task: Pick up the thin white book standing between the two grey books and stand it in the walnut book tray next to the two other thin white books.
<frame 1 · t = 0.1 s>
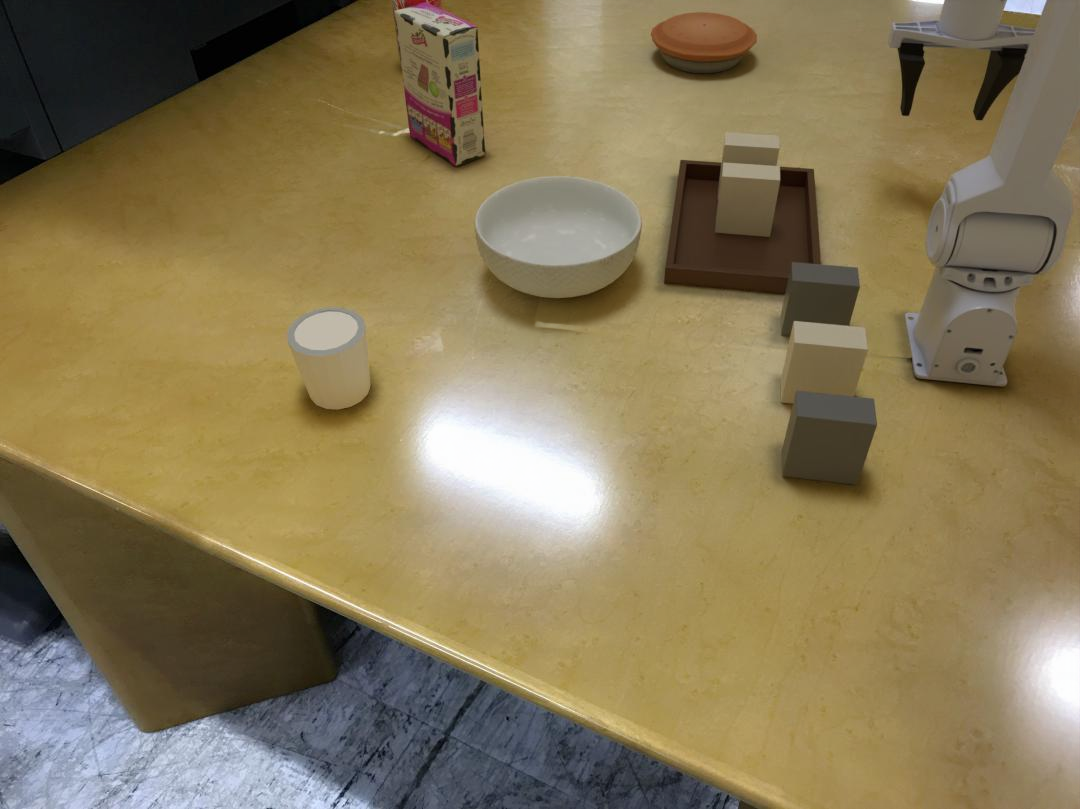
hand: (940, 114, 98), 10 cm above the table, tool pointing down, fingers open, 7 cm apart
grey book 1: (818, 467, 75), on the table
white book a: (742, 227, 100), point 1 cm above the table, touching book tray
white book: (814, 395, 81), on the table
white book b: (743, 195, 105), point 1 cm above the table, touching book tray
cereal bowl: (558, 275, 96), on the table
grey book 2: (811, 332, 87), on the table
shot glass: (340, 390, 83), on the table
book tray: (741, 234, 100), on the table
soda can: (423, 67, 135), on the table
candy bar box: (447, 147, 117), on the table
pie: (700, 59, 135), on the table
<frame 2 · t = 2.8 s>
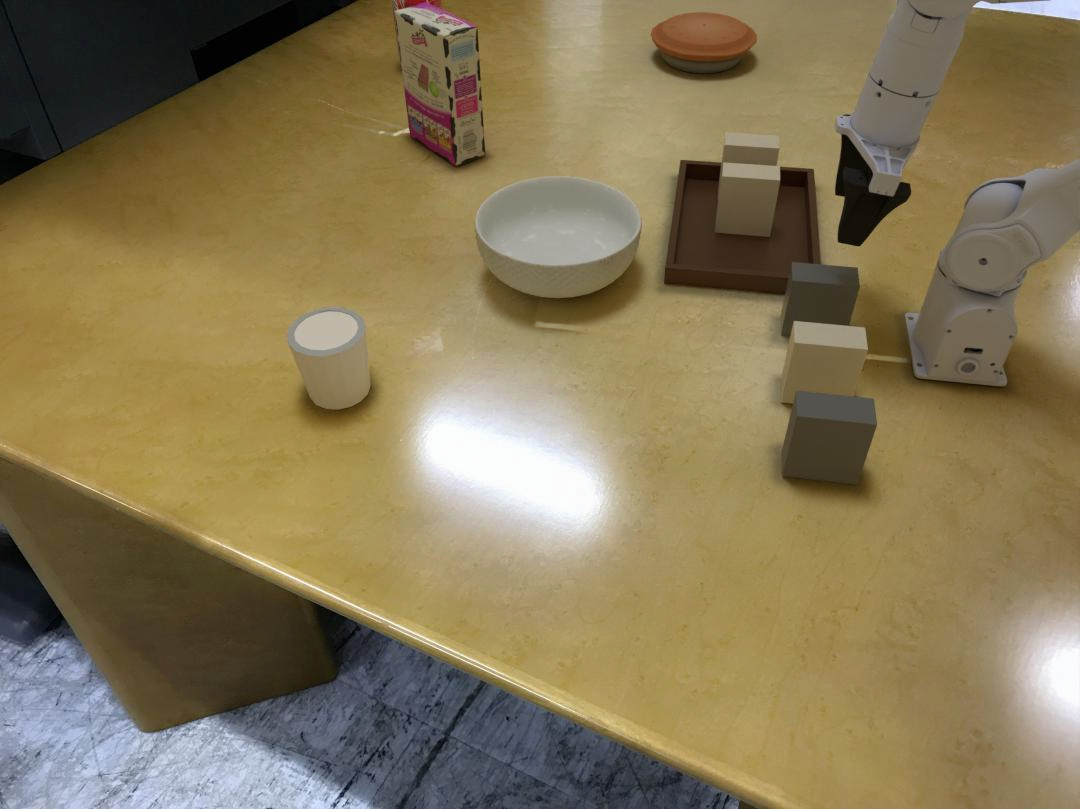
hand: (847, 218, 83), 10 cm above the table, tool pointing down, fingers open, 7 cm apart
nothing on the table moved.
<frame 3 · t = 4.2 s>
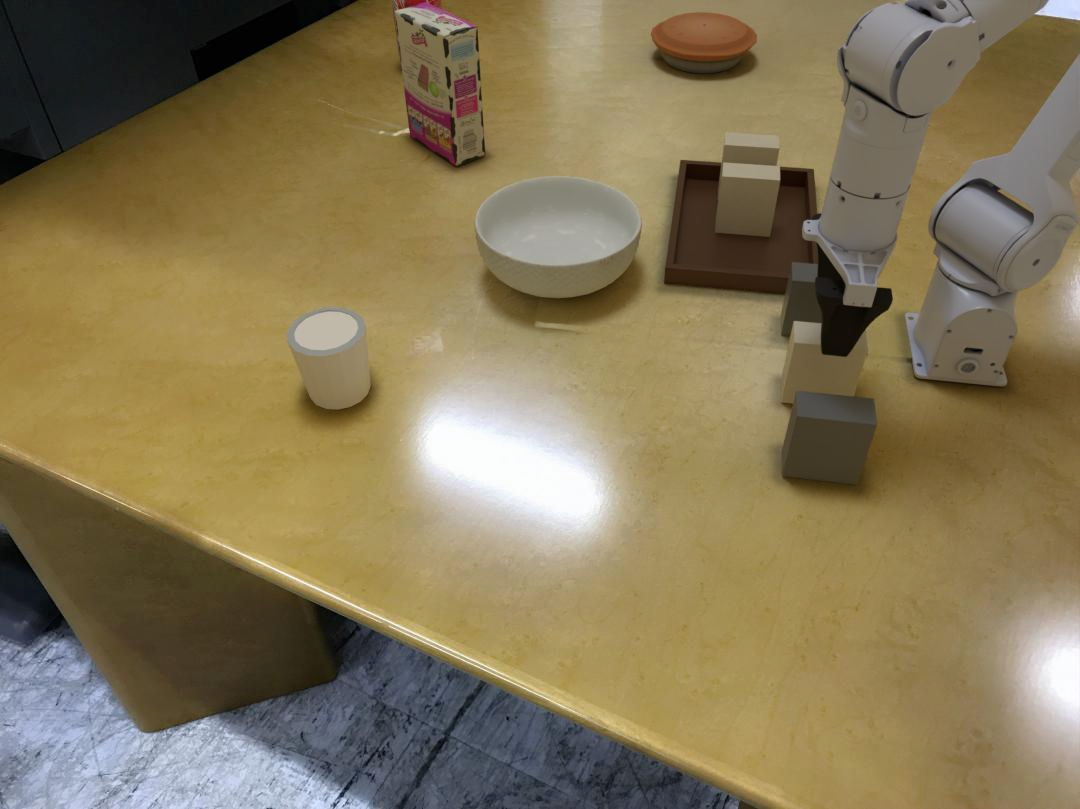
hand: (832, 324, 76), 8 cm above the table, tool pointing down, fingers open, 7 cm apart
nothing on the table moved.
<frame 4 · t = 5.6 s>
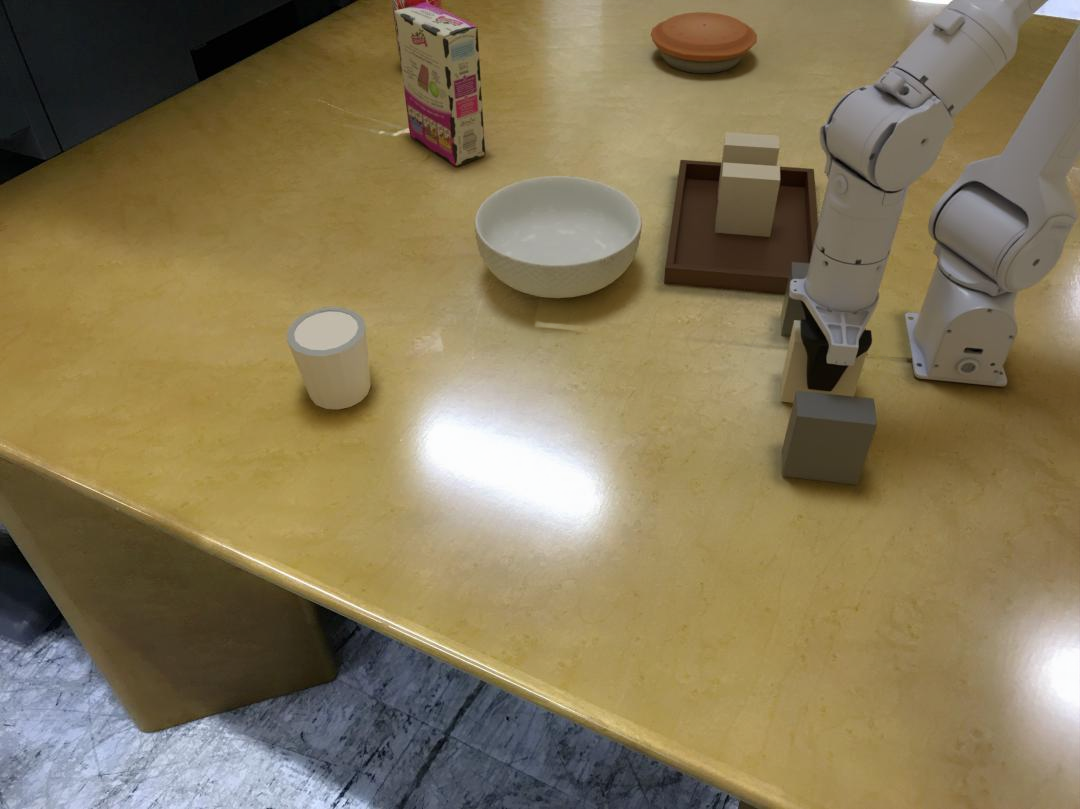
hand: (818, 374, 79), 2 cm above the table, tool pointing down, fingers closed on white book, 3 cm apart
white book: (814, 394, 81), on the table, touching gripper
everything else where it was.
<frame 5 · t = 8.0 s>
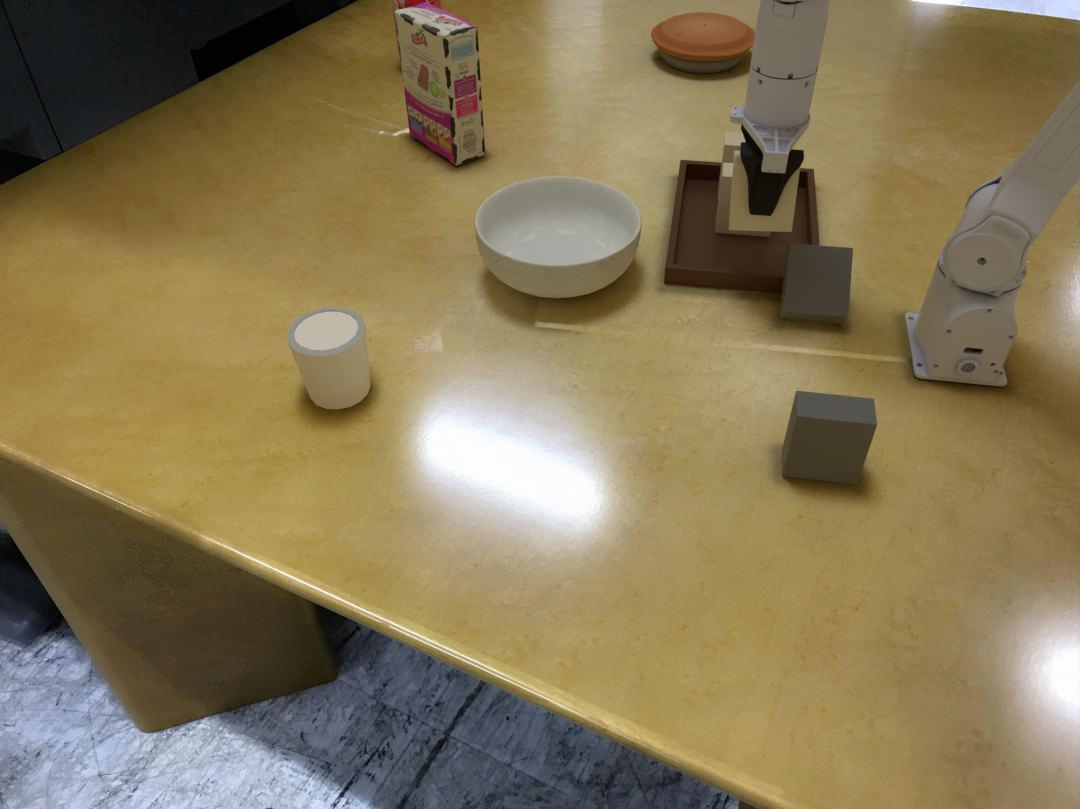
hand: (760, 203, 87), 9 cm above the table, tool pointing down, fingers closed on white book, 3 cm apart
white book: (760, 222, 89), point 7 cm above the table, touching gripper
grey book 2: (813, 318, 87), point 1 cm above the table, tilted 55°, touching book tray
everything else where it was.
when the fingers open (3 cm above the table, at t = 10.1 s): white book stays where it is, resting on book tray.
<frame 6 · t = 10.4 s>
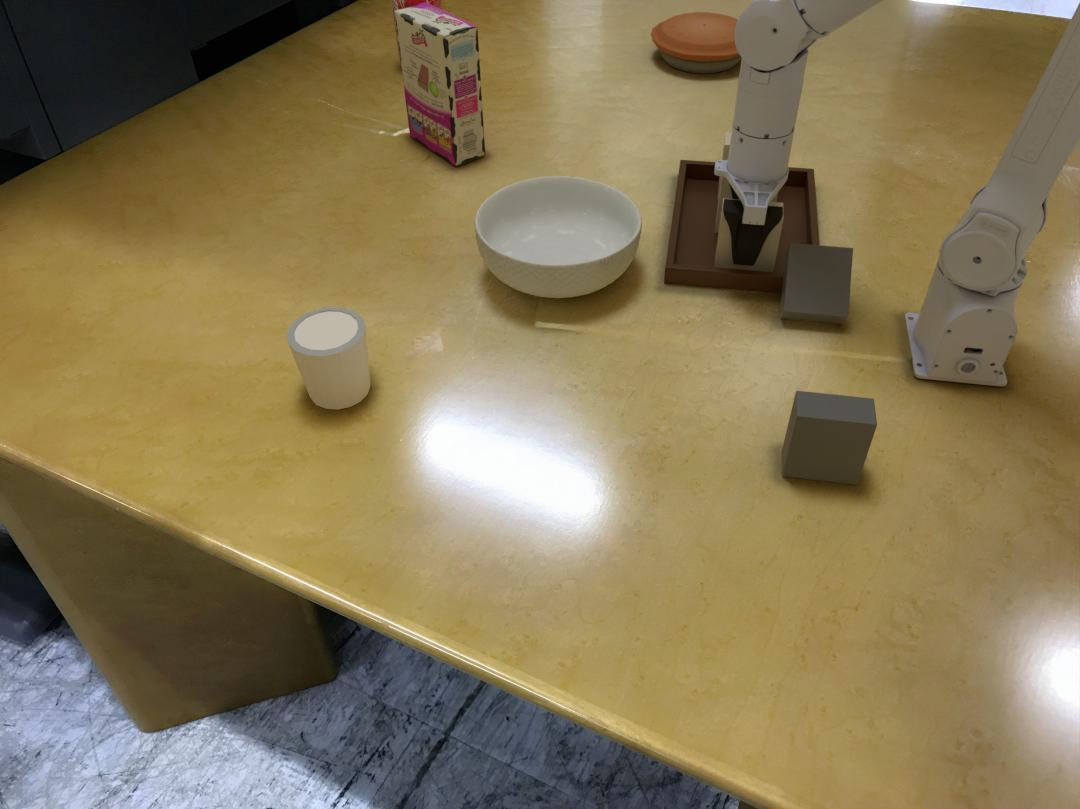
hand: (744, 247, 93), 3 cm above the table, tool pointing down, fingers open, 5 cm apart
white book: (743, 266, 95), point 1 cm above the table, touching book tray
everything else where it was.
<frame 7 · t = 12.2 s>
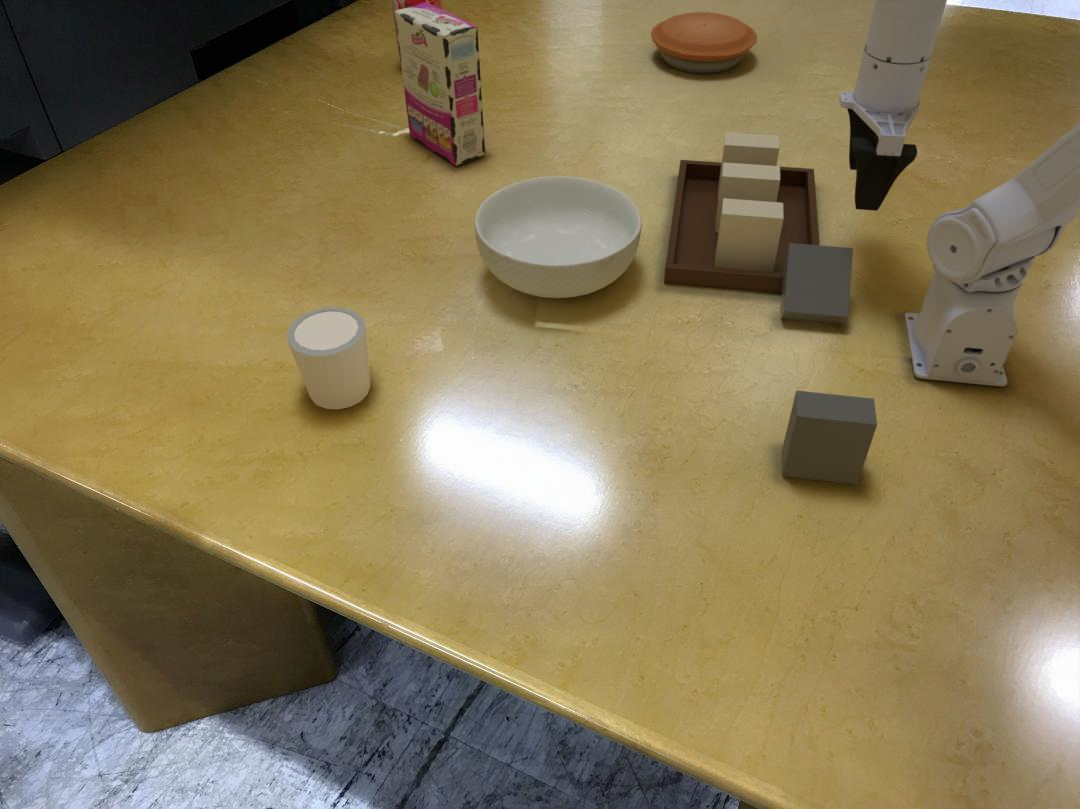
hand: (863, 187, 89), 9 cm above the table, tool pointing down, fingers open, 7 cm apart
nothing on the table moved.
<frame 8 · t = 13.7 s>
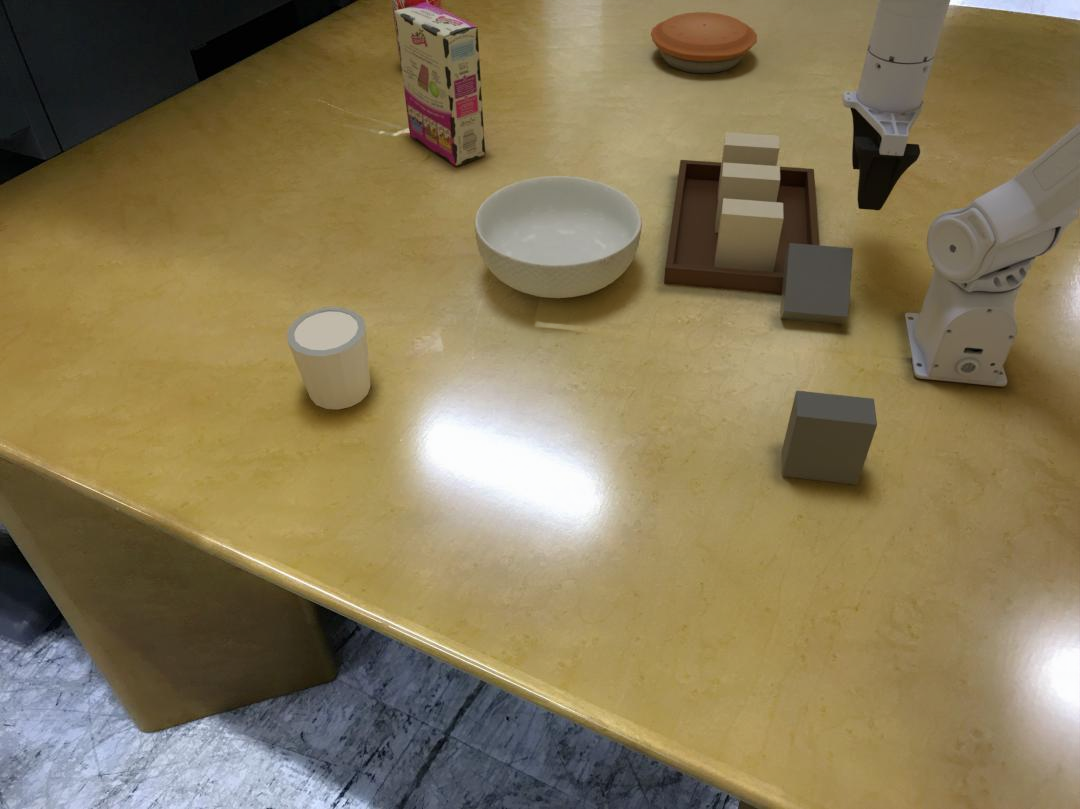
hand: (866, 187, 89), 9 cm above the table, tool pointing down, fingers open, 7 cm apart
nothing on the table moved.
at the end: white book 0.2 cm from the target spot in the book tray, point 0.6 cm above the book tray's base; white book tilted 0°; the gripper is holding nothing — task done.
